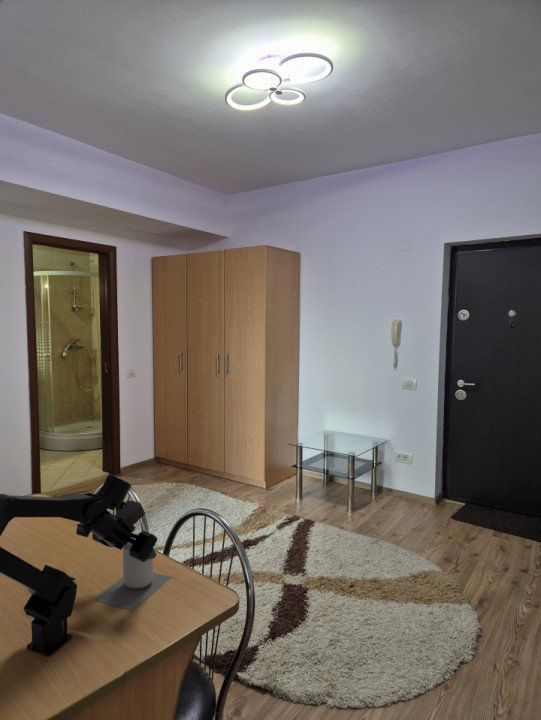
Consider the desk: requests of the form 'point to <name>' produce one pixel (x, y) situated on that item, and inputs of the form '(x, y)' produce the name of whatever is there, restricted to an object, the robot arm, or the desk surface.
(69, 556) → the desk surface
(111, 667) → the desk surface
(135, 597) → the mat
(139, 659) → the desk surface
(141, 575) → the can
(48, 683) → the desk surface
